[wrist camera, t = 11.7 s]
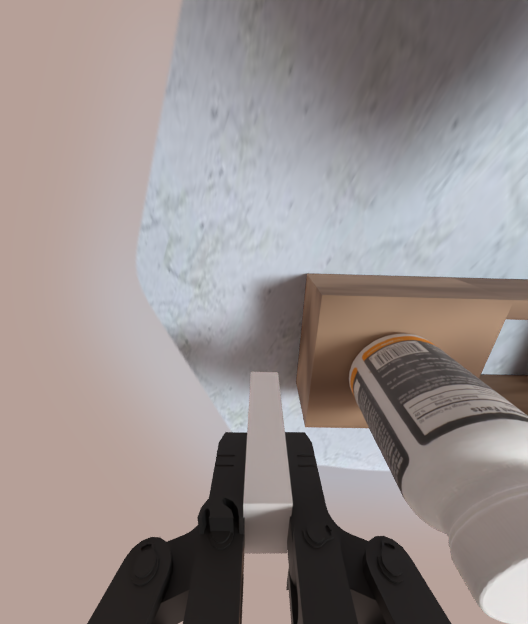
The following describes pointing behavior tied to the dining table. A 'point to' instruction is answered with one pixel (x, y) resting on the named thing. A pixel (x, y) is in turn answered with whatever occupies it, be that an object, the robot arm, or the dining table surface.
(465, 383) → the pill bottle
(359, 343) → the brown wooden open box
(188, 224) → the dining table surface
